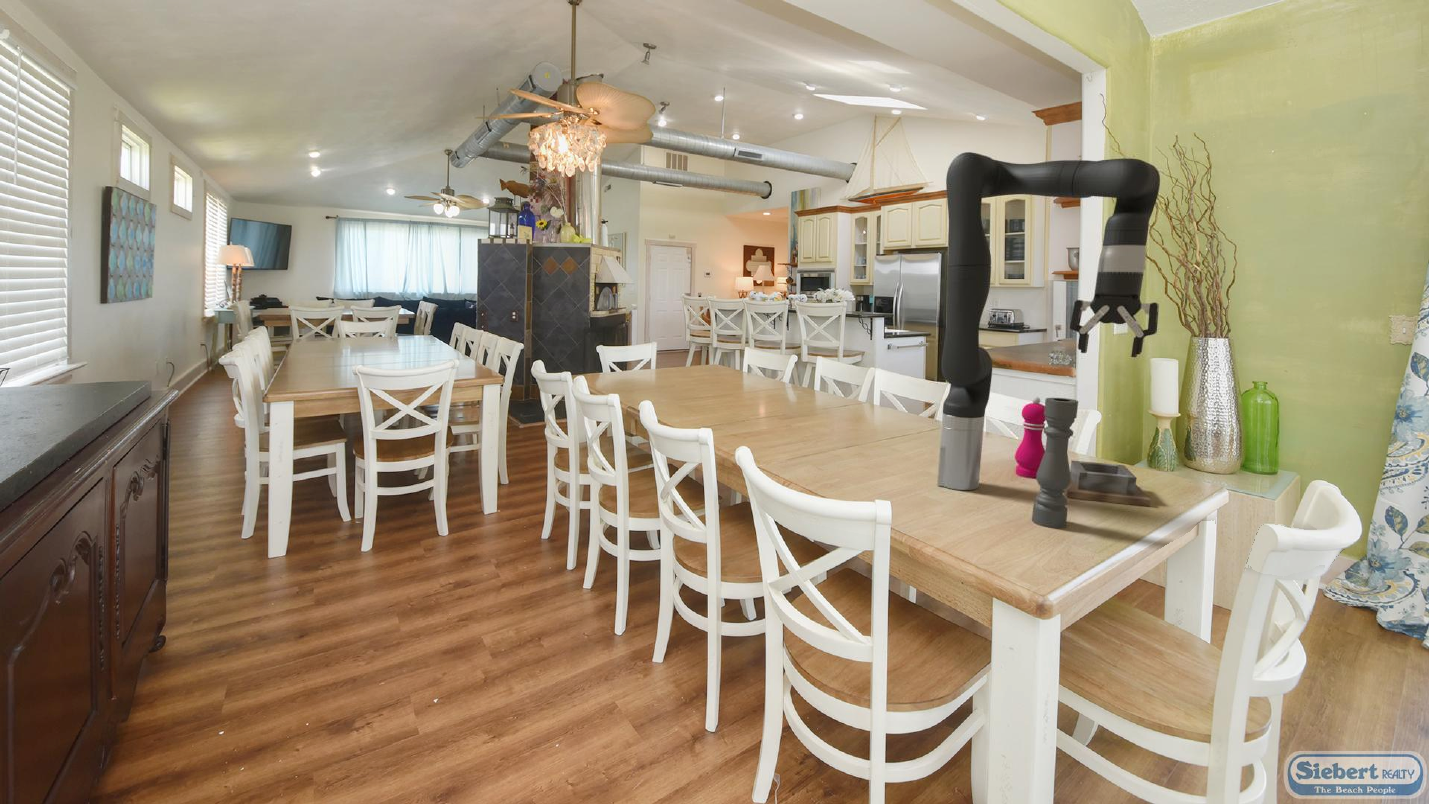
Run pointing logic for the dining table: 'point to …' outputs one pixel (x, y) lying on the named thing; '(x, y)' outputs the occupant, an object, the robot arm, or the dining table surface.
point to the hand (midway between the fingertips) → (1108, 354)
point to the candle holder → (1055, 464)
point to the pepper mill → (1031, 440)
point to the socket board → (1104, 484)
